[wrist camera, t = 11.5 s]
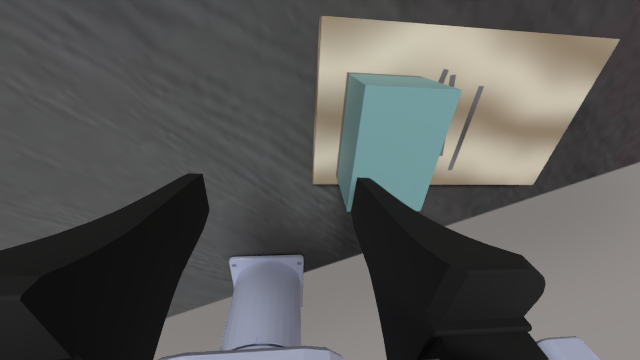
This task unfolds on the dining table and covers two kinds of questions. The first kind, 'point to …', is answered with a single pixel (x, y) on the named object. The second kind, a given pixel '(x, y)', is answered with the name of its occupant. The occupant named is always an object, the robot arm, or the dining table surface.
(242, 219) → the dining table surface
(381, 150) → the block
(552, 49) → the birch board
